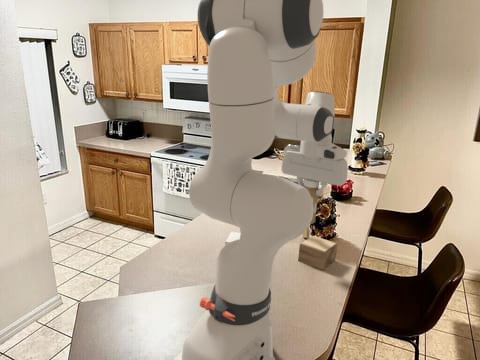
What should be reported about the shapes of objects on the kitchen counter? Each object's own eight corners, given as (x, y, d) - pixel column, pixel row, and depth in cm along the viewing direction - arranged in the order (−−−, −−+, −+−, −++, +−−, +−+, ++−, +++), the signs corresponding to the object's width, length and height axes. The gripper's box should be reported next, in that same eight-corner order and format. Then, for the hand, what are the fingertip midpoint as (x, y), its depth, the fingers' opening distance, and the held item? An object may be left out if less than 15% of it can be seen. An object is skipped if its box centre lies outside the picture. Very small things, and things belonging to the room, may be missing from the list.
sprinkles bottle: (318, 222, 111) (322, 180, 108) (307, 225, 109) (311, 182, 105) (307, 217, 115) (312, 176, 111) (297, 220, 112) (301, 178, 109)
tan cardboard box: (323, 270, 112) (325, 252, 111) (298, 260, 118) (299, 243, 116) (335, 260, 119) (337, 243, 118) (310, 251, 125) (312, 235, 123)
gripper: (279, 144, 109) (276, 188, 113) (343, 155, 97) (337, 203, 101) (290, 142, 114) (286, 184, 118) (352, 152, 102) (346, 198, 106)
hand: (310, 193), depth 109 cm, fingers closed on sprinkles bottle, 4 cm apart
